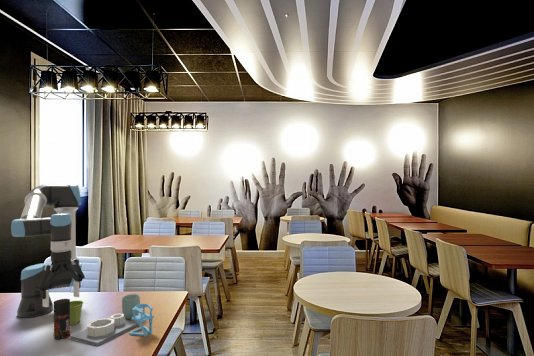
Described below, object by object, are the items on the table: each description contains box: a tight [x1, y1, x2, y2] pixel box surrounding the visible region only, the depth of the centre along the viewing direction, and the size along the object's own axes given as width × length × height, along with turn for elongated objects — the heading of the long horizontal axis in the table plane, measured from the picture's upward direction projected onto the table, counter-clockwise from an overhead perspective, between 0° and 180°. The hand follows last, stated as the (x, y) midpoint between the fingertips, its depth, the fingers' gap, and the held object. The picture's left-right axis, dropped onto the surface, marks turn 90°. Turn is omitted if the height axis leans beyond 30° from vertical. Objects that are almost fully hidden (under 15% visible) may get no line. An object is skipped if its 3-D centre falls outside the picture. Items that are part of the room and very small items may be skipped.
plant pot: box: [70, 300, 84, 326], centre depth 164 cm, size 9×9×9 cm
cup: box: [121, 293, 141, 320], centre depth 168 cm, size 8×8×10 cm
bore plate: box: [69, 313, 140, 347], centre depth 153 cm, size 16×22×5 cm
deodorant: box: [53, 298, 71, 341], centre depth 148 cm, size 6×6×15 cm
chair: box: [128, 303, 155, 338], centre depth 151 cm, size 8×8×12 cm
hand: (61, 301), depth 148 cm, fingers open, 13 cm apart
